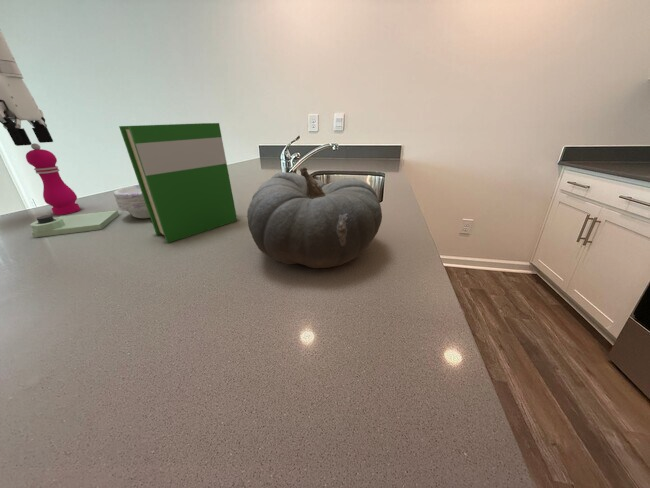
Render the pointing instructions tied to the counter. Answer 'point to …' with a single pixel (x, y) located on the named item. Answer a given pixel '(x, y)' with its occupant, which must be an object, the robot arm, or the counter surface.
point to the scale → (73, 223)
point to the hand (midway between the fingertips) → (35, 143)
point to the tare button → (45, 219)
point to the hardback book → (181, 176)
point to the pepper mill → (52, 181)
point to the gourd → (313, 219)
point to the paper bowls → (132, 201)
